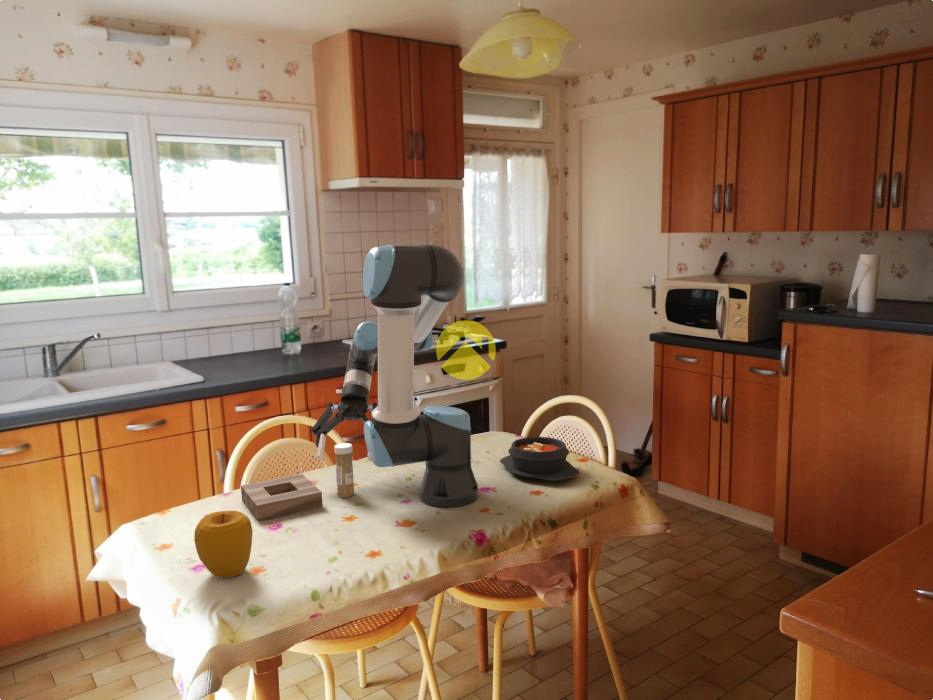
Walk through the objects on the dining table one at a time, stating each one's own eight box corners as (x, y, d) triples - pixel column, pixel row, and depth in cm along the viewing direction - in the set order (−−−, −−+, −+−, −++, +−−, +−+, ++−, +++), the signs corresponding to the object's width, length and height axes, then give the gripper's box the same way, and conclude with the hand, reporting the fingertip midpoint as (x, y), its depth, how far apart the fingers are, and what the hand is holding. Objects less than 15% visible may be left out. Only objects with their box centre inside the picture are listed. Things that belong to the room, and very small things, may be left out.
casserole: (594, 476, 193) (595, 447, 192) (546, 492, 182) (546, 461, 180) (532, 455, 213) (531, 428, 211) (484, 468, 201) (484, 440, 200)
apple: (186, 581, 138) (180, 520, 136) (223, 558, 148) (218, 500, 146) (231, 591, 134) (226, 527, 132) (266, 565, 144) (262, 506, 142)
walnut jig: (322, 507, 175) (321, 491, 174) (257, 521, 167) (256, 505, 166) (302, 487, 188) (301, 473, 188) (241, 500, 180) (240, 485, 180)
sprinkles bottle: (355, 496, 181) (352, 446, 179) (337, 498, 180) (334, 448, 178) (353, 490, 186) (351, 441, 184) (336, 492, 185) (333, 443, 182)
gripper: (402, 397, 198) (393, 465, 186) (316, 396, 201) (302, 464, 188) (397, 382, 192) (388, 452, 180) (309, 382, 195) (294, 451, 182)
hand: (344, 458), depth 184 cm, fingers open, 13 cm apart
